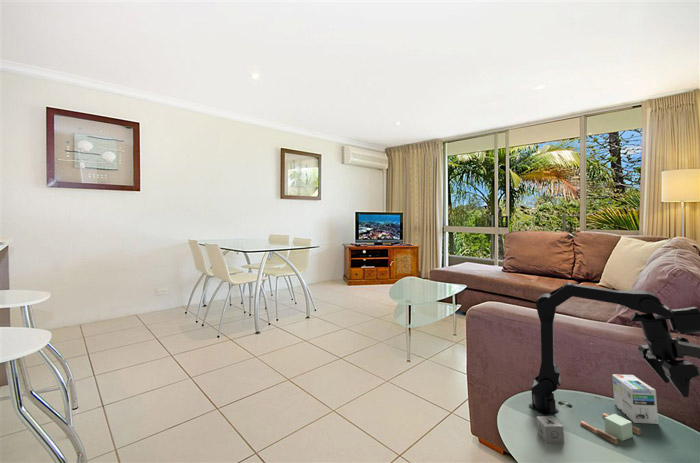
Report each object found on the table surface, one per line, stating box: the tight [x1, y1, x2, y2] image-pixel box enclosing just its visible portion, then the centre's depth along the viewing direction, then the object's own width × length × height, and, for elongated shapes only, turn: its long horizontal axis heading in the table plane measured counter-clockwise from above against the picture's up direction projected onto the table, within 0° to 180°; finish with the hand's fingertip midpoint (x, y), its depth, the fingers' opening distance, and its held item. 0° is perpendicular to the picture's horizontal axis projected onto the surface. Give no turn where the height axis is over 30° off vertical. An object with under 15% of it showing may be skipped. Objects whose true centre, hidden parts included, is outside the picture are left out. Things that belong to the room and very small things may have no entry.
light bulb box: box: [611, 373, 659, 425], centre depth 104 cm, size 11×7×11 cm, turn 168°
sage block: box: [604, 413, 634, 441], centre depth 95 cm, size 4×4×4 cm
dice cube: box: [536, 415, 565, 444], centre depth 95 cm, size 5×5×5 cm
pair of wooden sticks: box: [579, 412, 642, 445], centre depth 97 cm, size 10×11×2 cm
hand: (676, 389), depth 90 cm, fingers open, 9 cm apart
